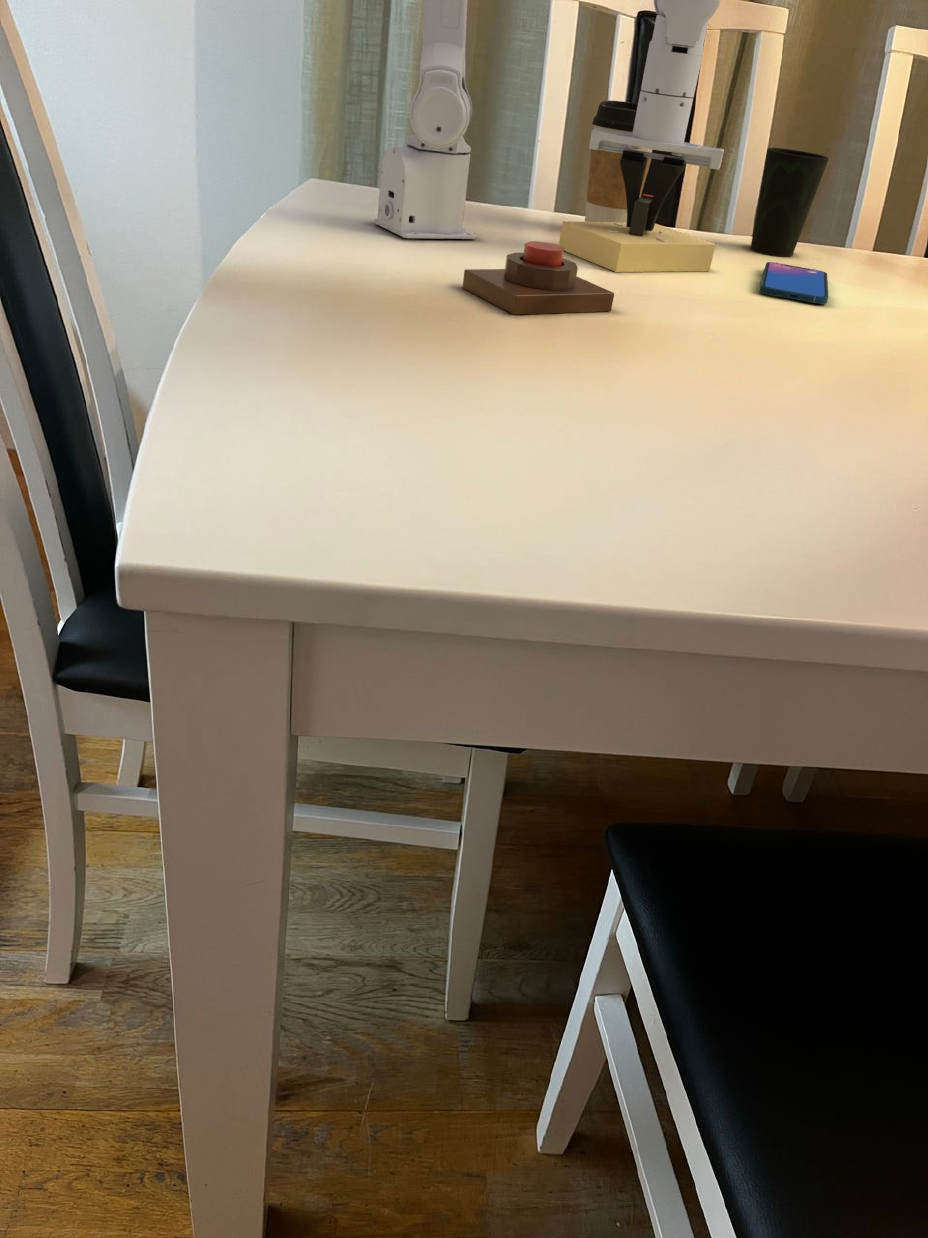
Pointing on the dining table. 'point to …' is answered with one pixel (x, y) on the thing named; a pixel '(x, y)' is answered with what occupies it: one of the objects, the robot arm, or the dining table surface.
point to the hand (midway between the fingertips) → (640, 227)
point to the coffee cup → (610, 166)
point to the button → (543, 254)
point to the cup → (785, 199)
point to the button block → (537, 288)
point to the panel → (636, 247)
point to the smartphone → (795, 283)
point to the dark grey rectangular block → (640, 215)
